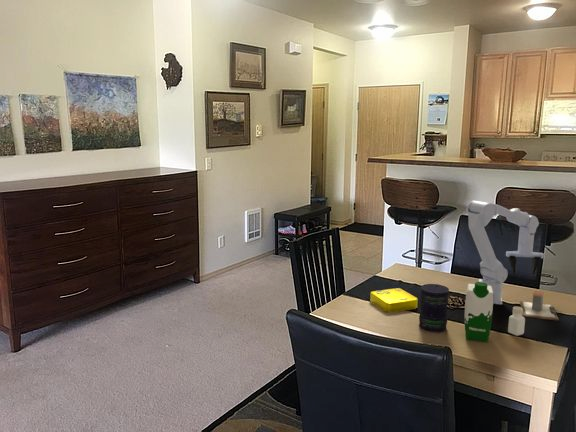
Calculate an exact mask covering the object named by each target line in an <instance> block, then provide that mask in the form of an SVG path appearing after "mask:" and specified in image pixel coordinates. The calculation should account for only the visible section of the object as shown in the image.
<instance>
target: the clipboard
mask: <svg viewBox="0 0 576 432" xmlns="http://www.w3.org/2000/svg"><path fill="white" fill-rule="evenodd" d="M532 303H533V301H524V300H519V304H520V307H521V308H523V314H522V317H524V318H525V317H526V318H532V319H533V318H534V319H540V320H550V321H557V322H558V321H560V319H559V317H558V315H557V311H556V308H555V307H554V306H553V304H550V303H549V304H546V303H543V306H542V310H541V311H536V310H532Z"/></svg>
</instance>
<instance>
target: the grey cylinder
mask: <svg viewBox="0 0 576 432" xmlns="http://www.w3.org/2000/svg"><path fill="white" fill-rule="evenodd" d="M544 296H545V292H544V291H543V292H542V291H537V290H535V291H533V293H532V310H536V311H541V310H542V306H543V304H544Z"/></svg>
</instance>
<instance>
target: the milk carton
mask: <svg viewBox="0 0 576 432" xmlns="http://www.w3.org/2000/svg"><path fill="white" fill-rule="evenodd" d="M464 305H465V306H464V318H463V319H464V321H463V323H464V331H465V340H467V341H473V342H474V341H475V342H481V343H489V338H490V334H491V329H492V323H493V322H492V321H493V320H492V319H493V308H494V307H493V306H494V304H493V290H492V287H491V286H488V285H487V284H486V283H483V282H479V281H477V282H475V283H468V284H467V288H466V293H465V304H464Z"/></svg>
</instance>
